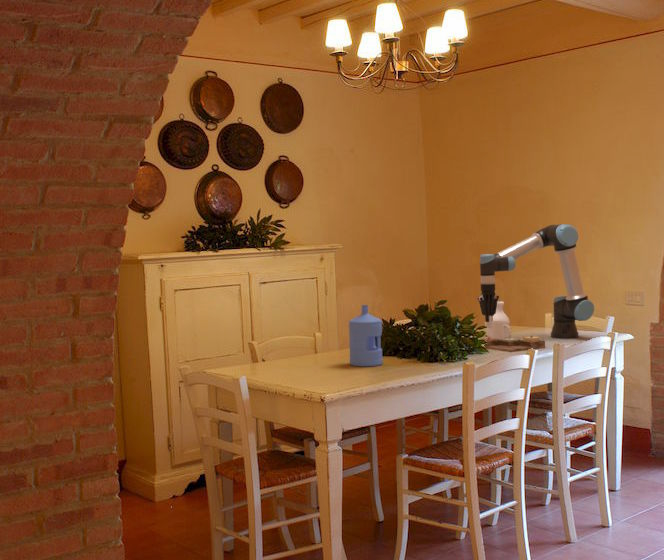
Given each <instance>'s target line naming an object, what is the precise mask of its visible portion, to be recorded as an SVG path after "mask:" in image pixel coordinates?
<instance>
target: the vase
mask: <svg viewBox="0 0 664 560" xmlns="http://www.w3.org/2000/svg"><path fill="white" fill-rule="evenodd" d="M504 305H505V302H504V301H500V300H499V301H497V308H496V314H494V316H493V321H506V325H508V326H509V327H510V325H511V324H510V323H511V322H510V321H511V320H510V317H508V316H507V314H506V313H505V312H504ZM485 326H486V321H485V320H484V327H485ZM485 331H486V336H487V337H486V338H491V328H485ZM508 333H509V330H508V328H506V335H508Z"/></svg>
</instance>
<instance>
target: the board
mask: <svg viewBox="0 0 664 560" xmlns="http://www.w3.org/2000/svg"><path fill="white" fill-rule="evenodd" d="M484 346H485V347H486V348H485V349H489V350H493V351H494V350H495V351H501V352H507V353H515V352H522V351H529V350H528V349H531V348H533V349H531V350H538V349H539V350H540V349H545V348H546V340H542V339H540V341H537V342H526V341H523V339H518V341H512V342H508V341H502V340H498V339H497V340H495V341H487V344H485V345H484Z"/></svg>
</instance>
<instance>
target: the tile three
mask: <svg viewBox="0 0 664 560" xmlns="http://www.w3.org/2000/svg"><path fill="white" fill-rule="evenodd" d="M522 340H523V341H526V342H537V341H540V340H541V337H539V336H533V335H531V336H523V338H522Z"/></svg>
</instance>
